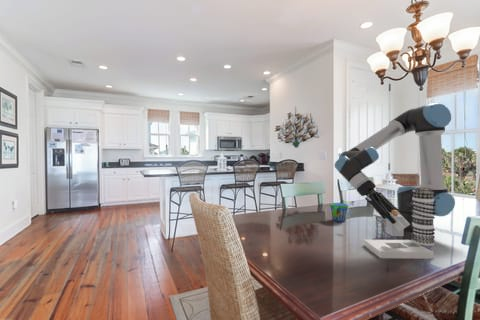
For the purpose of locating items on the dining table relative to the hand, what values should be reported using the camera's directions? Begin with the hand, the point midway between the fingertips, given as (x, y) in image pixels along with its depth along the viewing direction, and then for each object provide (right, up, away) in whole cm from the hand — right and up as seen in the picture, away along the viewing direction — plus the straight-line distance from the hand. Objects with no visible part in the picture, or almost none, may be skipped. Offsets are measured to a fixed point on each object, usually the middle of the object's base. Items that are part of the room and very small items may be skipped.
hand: (404, 227), depth 98 cm
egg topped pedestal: (-2, -4, +3) cm, 5 cm away
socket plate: (-2, -11, +3) cm, 11 cm away
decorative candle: (+17, -10, +13) cm, 24 cm away
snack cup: (-5, -11, +53) cm, 54 cm away
